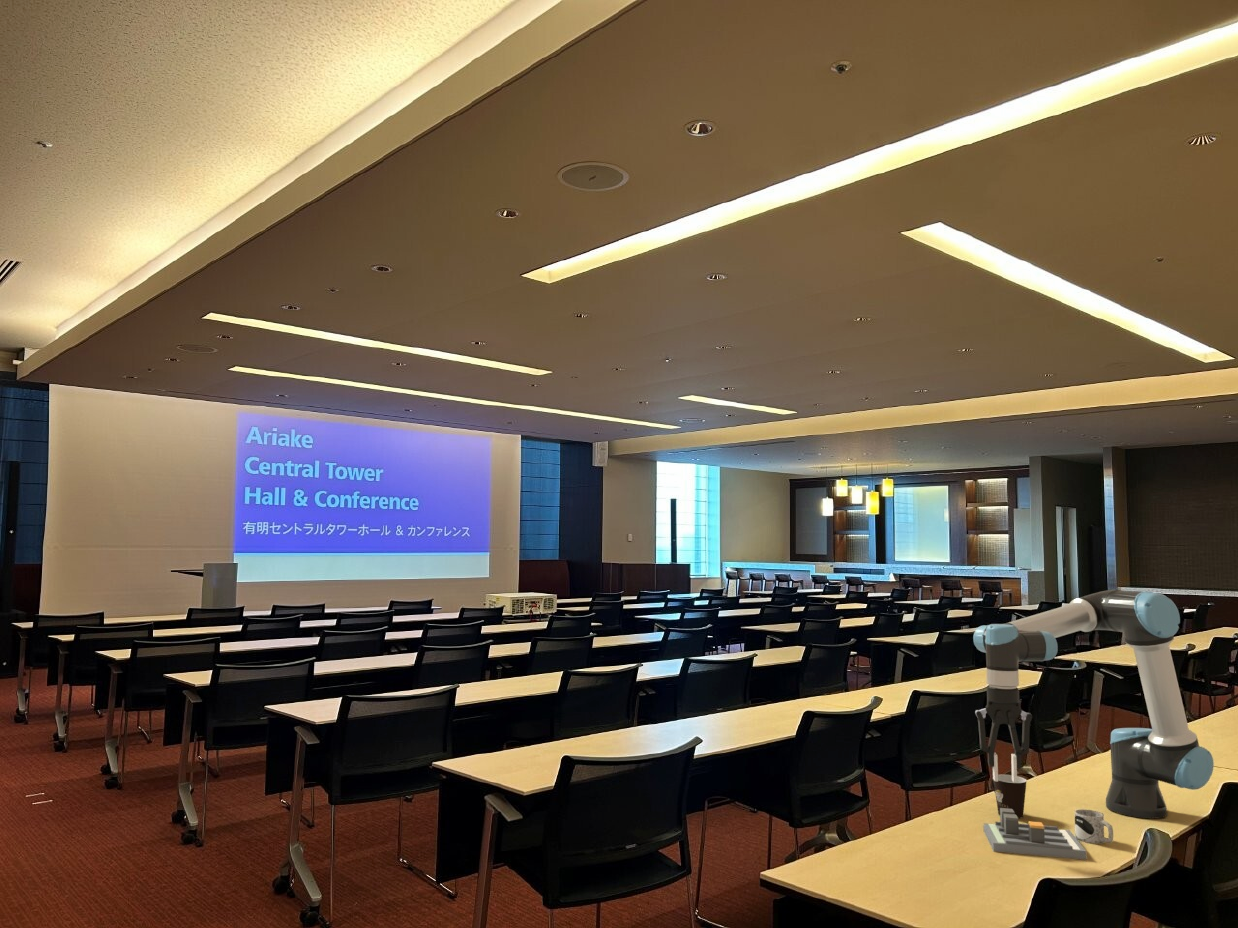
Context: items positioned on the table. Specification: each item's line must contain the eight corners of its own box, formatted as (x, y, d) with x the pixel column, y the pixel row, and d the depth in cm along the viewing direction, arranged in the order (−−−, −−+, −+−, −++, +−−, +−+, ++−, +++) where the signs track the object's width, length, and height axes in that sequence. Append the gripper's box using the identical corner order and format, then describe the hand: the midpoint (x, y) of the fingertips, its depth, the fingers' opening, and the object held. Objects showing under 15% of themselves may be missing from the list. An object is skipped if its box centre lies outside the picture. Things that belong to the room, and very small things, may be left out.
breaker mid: (1016, 832, 227) (1015, 814, 228) (1018, 836, 224) (1018, 818, 225) (1003, 831, 228) (1003, 813, 228) (1006, 835, 225) (1005, 817, 225)
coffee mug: (1031, 821, 244) (1030, 783, 244) (997, 818, 245) (996, 781, 246) (1020, 808, 255) (1019, 772, 256) (988, 806, 257) (988, 770, 258)
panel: (1069, 837, 230) (1069, 827, 230) (1086, 859, 215) (1086, 848, 215) (983, 830, 235) (983, 820, 235) (993, 851, 220) (993, 839, 220)
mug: (1069, 836, 231) (1068, 810, 232) (1087, 833, 234) (1086, 807, 234) (1103, 849, 222) (1102, 822, 222) (1122, 846, 225) (1121, 819, 225)
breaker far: (1012, 826, 232) (1012, 808, 233) (1015, 830, 229) (1014, 812, 230) (1000, 825, 233) (999, 807, 233) (1002, 829, 230) (1002, 811, 230)
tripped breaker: (1041, 841, 221) (1041, 822, 222) (1044, 845, 218) (1044, 826, 219) (1028, 839, 222) (1028, 821, 222) (1031, 844, 219) (1031, 825, 219)
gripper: (1035, 685, 227) (1037, 779, 225) (965, 682, 231) (967, 774, 229) (1041, 690, 219) (1044, 787, 217) (969, 686, 223) (971, 782, 221)
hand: (1004, 780), depth 223 cm, fingers open, 4 cm apart
